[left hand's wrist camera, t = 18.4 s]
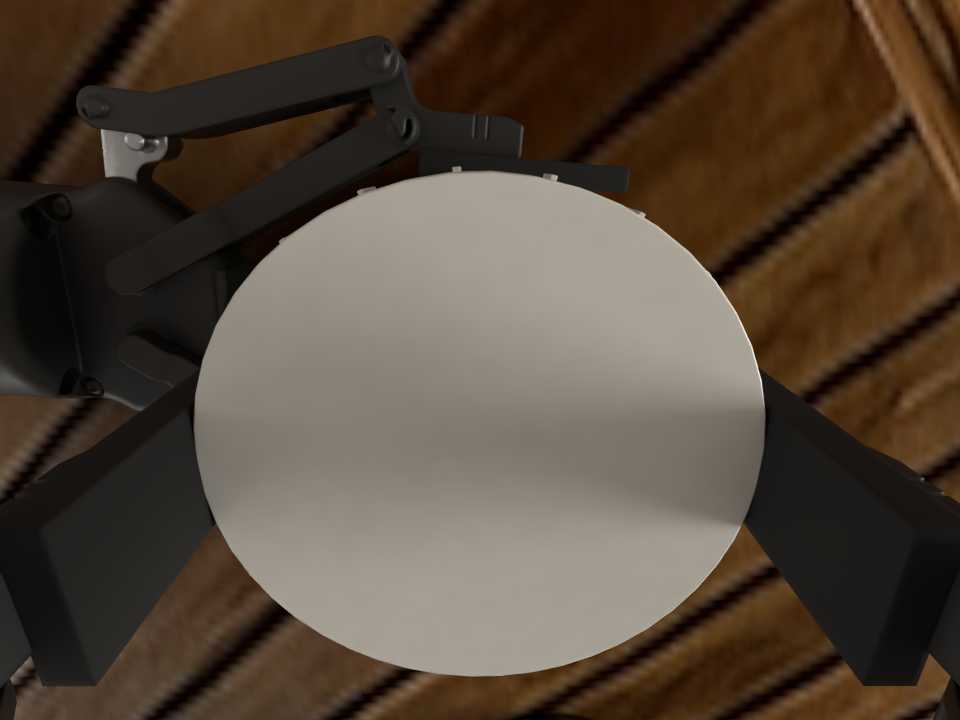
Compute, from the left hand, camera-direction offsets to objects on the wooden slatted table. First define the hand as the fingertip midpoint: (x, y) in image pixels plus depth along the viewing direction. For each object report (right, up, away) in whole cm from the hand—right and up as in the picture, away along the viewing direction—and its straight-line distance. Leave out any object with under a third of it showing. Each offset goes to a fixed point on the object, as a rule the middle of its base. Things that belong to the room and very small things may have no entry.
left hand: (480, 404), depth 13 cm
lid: (0, -1, -3) cm, 3 cm away
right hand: (+4, +2, +6) cm, 8 cm away
